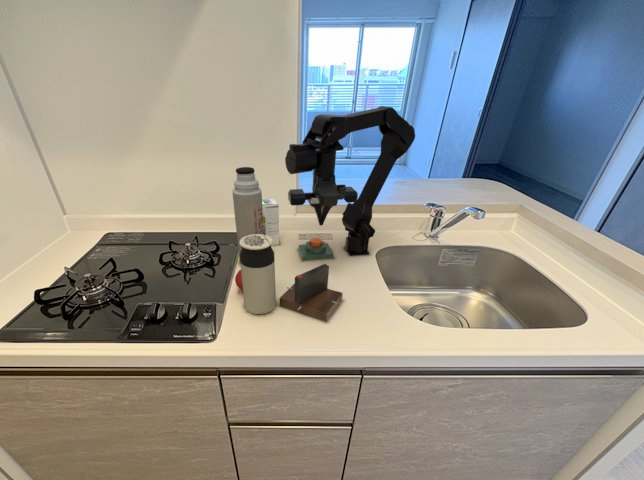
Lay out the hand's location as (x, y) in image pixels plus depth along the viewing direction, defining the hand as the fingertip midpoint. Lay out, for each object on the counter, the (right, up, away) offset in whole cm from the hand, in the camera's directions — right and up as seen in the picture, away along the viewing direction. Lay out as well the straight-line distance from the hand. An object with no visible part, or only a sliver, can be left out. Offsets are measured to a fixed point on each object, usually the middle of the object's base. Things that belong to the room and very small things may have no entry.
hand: (320, 225), depth 95 cm
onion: (-21, -20, -7) cm, 30 cm away
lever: (-4, -21, -13) cm, 25 cm away
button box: (-1, -7, +11) cm, 13 cm away
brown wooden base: (-4, -23, -12) cm, 26 cm away
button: (-1, -4, +9) cm, 10 cm away
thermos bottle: (-21, -10, +7) cm, 24 cm away
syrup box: (-16, -2, +18) cm, 25 cm away
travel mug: (-17, -24, -12) cm, 31 cm away
